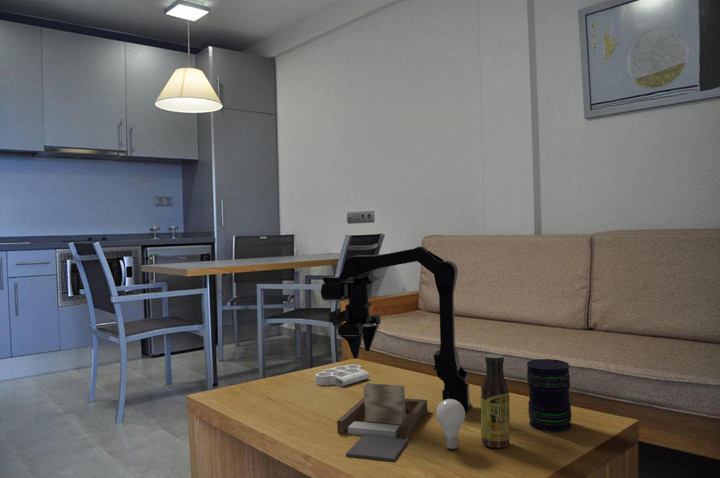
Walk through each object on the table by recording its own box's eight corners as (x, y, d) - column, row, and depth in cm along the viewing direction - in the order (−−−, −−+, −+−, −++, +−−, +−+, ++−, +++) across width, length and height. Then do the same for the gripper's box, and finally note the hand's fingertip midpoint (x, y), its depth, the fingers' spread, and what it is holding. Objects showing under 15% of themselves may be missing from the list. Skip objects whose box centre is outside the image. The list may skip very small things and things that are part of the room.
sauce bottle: (493, 452, 120) (489, 360, 120) (475, 442, 126) (472, 355, 126) (517, 446, 123) (513, 356, 123) (499, 436, 129) (495, 351, 128)
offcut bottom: (400, 435, 134) (400, 430, 134) (395, 441, 131) (395, 436, 131) (354, 431, 139) (353, 426, 139) (348, 437, 135) (347, 432, 135)
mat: (408, 441, 128) (407, 439, 128) (394, 461, 118) (394, 458, 118) (363, 437, 132) (363, 435, 132) (346, 456, 122) (345, 453, 122)
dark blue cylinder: (553, 435, 128) (550, 371, 128) (520, 424, 136) (517, 363, 136) (580, 426, 133) (578, 364, 133) (547, 415, 142) (544, 357, 141)
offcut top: (400, 430, 134) (399, 425, 134) (395, 436, 131) (394, 431, 131) (354, 426, 139) (353, 421, 139) (348, 432, 135) (347, 427, 135)
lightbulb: (471, 452, 121) (469, 401, 121) (445, 456, 119) (442, 405, 119) (458, 441, 127) (456, 393, 127) (433, 445, 125) (430, 397, 125)
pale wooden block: (405, 420, 143) (404, 385, 143) (402, 424, 140) (401, 388, 140) (369, 417, 146) (367, 383, 146) (365, 421, 143) (363, 386, 143)
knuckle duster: (335, 391, 173) (307, 383, 183) (377, 378, 185) (347, 371, 196) (335, 380, 173) (306, 372, 183) (376, 368, 185) (347, 362, 196)
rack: (427, 411, 149) (426, 399, 149) (406, 439, 130) (406, 426, 130) (366, 406, 155) (365, 395, 155) (337, 432, 136) (337, 420, 136)
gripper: (345, 295, 169) (348, 347, 169) (318, 304, 152) (322, 361, 152) (379, 295, 165) (382, 347, 165) (356, 304, 148) (359, 363, 148)
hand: (361, 354), depth 158 cm, fingers open, 9 cm apart
